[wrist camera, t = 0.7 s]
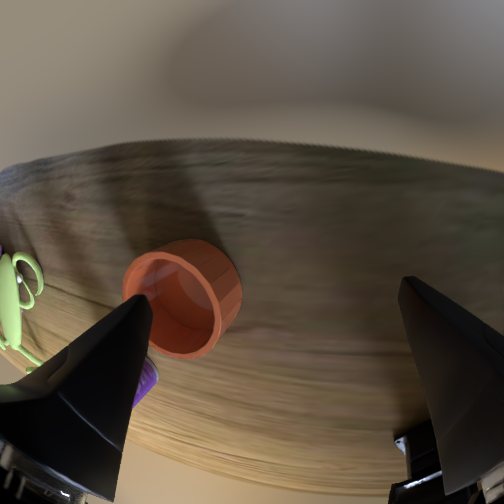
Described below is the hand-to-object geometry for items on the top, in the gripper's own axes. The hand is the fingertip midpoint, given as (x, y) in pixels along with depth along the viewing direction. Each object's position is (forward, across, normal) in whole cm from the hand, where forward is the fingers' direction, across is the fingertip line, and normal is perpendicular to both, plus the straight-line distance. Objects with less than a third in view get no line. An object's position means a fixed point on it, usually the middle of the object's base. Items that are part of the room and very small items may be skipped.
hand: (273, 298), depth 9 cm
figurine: (+18, +45, +17) cm, 52 cm away
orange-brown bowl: (+13, +8, +9) cm, 18 cm away
